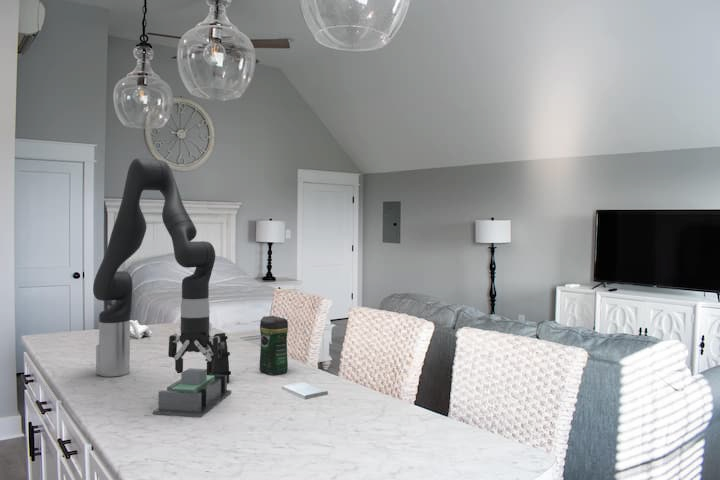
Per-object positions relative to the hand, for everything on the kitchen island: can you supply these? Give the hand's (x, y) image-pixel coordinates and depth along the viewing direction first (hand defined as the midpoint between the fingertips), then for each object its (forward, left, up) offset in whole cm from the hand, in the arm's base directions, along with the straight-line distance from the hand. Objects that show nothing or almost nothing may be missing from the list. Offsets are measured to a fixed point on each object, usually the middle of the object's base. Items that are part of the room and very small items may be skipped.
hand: (194, 373), depth 152 cm
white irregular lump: (-64, +81, -8) cm, 104 cm away
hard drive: (+27, +16, -9) cm, 33 cm away
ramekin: (-36, +81, -8) cm, 89 cm away
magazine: (-3, +24, -8) cm, 26 cm away
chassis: (0, 0, -8) cm, 8 cm away
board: (0, 0, -4) cm, 4 cm away
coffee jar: (+12, +36, -8) cm, 39 cm away
